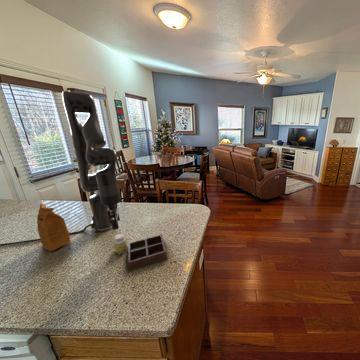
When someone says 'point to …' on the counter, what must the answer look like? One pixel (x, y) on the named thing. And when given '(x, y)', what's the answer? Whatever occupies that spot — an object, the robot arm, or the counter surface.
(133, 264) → the grid
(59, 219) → the coffee package
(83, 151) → the robot arm
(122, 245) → the supplement bottle
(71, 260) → the counter surface
